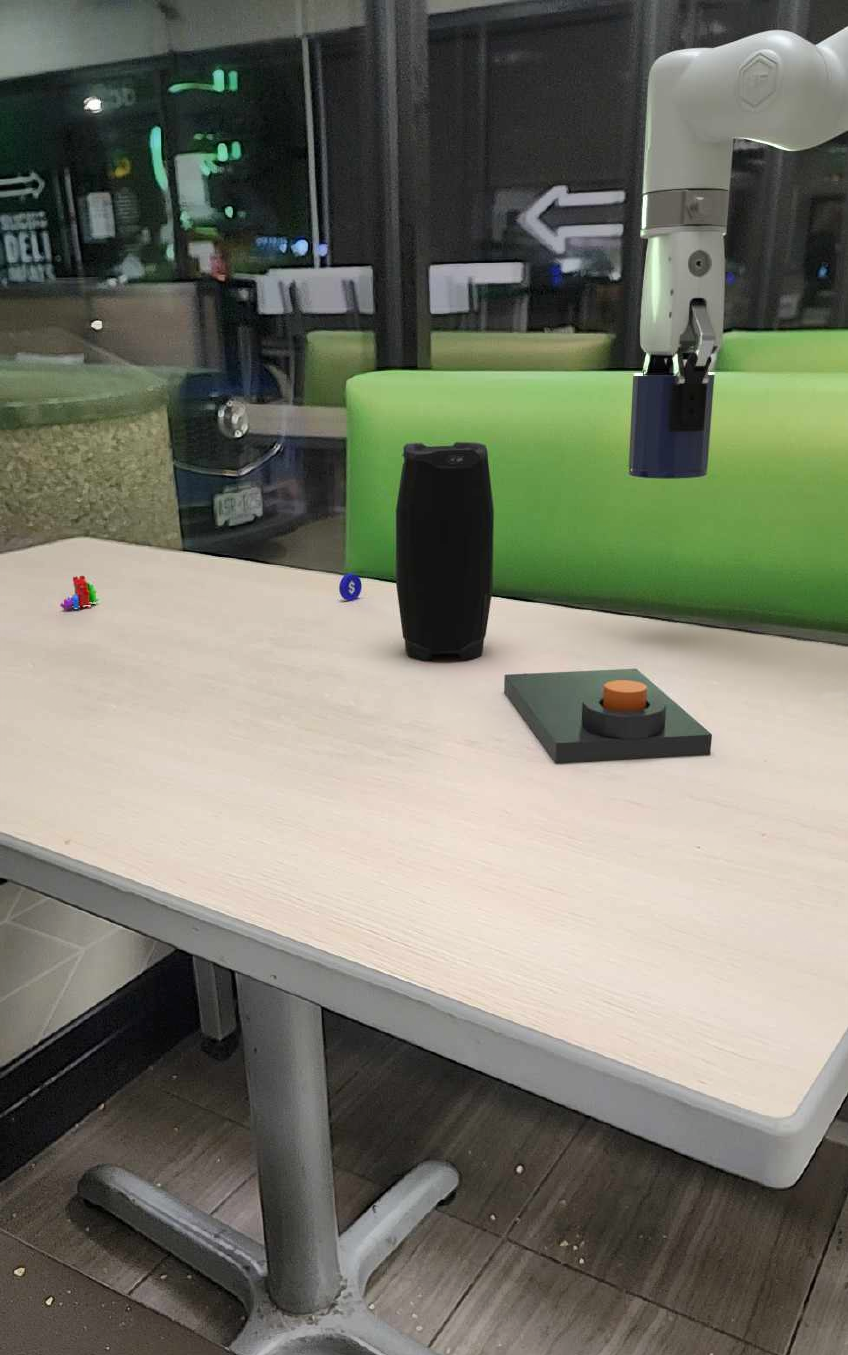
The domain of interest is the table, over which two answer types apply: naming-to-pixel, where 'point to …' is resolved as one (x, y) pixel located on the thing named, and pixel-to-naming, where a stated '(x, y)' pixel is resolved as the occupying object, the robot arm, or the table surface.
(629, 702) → the switch
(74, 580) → the colorful small pieces
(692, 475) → the blue cup
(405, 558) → the portable speaker
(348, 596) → the coin
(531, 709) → the push button base
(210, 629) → the table surface
